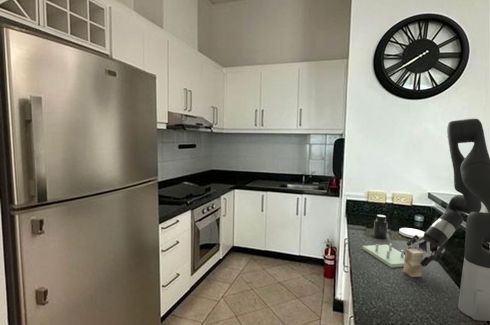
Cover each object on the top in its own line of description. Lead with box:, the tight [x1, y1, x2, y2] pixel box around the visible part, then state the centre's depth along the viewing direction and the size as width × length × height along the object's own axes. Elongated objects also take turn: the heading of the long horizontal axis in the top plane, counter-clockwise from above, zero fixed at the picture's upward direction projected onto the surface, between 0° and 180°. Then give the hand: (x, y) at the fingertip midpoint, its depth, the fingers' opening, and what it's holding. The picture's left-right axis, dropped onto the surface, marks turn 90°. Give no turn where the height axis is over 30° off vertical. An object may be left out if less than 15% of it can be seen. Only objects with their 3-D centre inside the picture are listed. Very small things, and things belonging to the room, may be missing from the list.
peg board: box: [362, 243, 405, 268], centre depth 135 cm, size 20×14×4 cm
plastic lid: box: [398, 227, 426, 239], centre depth 166 cm, size 14×14×2 cm
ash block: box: [402, 247, 424, 278], centre depth 118 cm, size 4×4×10 cm
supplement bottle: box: [372, 214, 389, 239], centre depth 161 cm, size 7×7×12 cm
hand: (413, 260), depth 118 cm, fingers open, 8 cm apart
